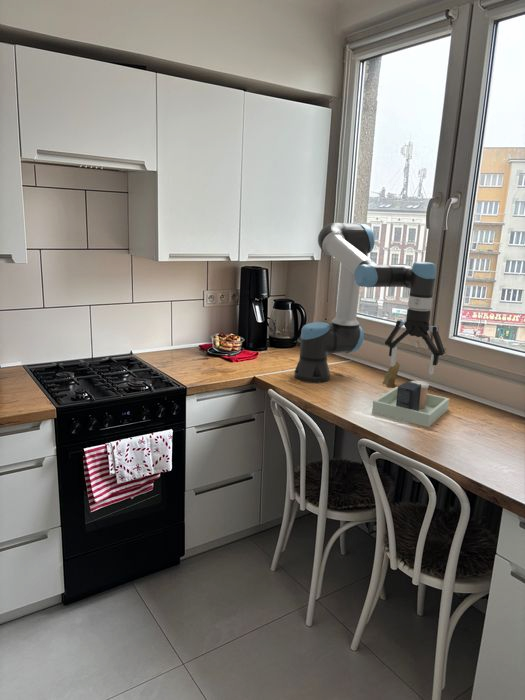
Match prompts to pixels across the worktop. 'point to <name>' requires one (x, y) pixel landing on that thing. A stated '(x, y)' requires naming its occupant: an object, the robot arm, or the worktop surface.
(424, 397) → the jar
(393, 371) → the rock
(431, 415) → the tray
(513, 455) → the worktop surface
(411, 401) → the box
